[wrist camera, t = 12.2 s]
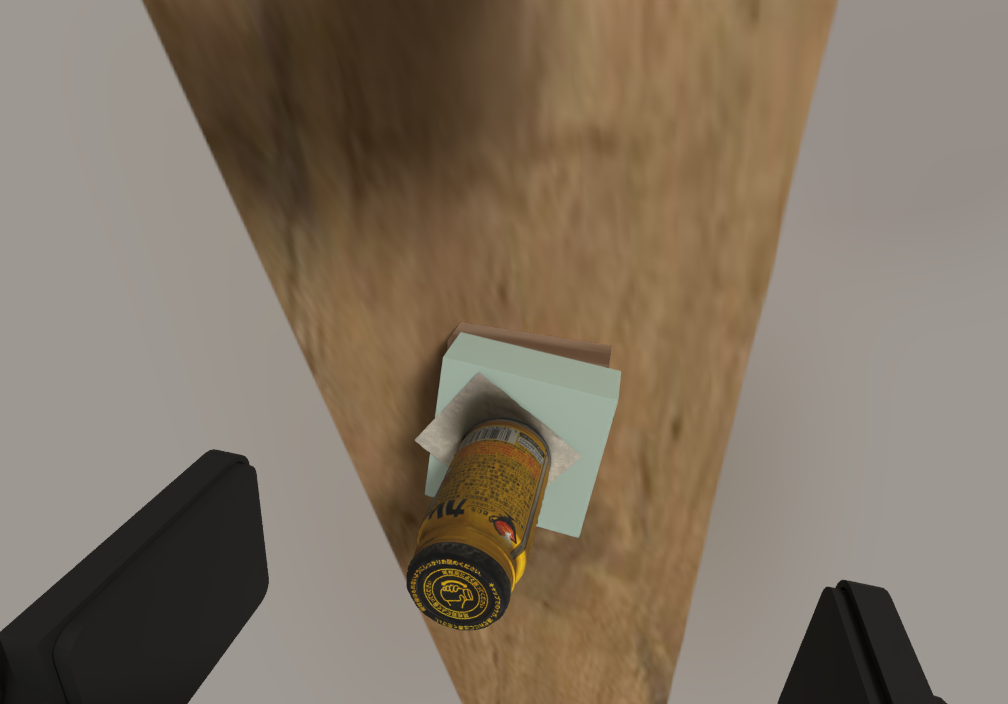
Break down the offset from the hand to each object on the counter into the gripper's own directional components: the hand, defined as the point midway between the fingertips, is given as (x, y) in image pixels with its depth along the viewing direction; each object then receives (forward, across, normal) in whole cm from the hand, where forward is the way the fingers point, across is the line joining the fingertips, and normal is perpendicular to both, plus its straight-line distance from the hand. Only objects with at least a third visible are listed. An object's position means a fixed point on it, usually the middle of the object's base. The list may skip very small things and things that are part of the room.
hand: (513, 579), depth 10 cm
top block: (+30, +4, +16) cm, 34 cm away
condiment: (+26, +5, +16) cm, 31 cm away
